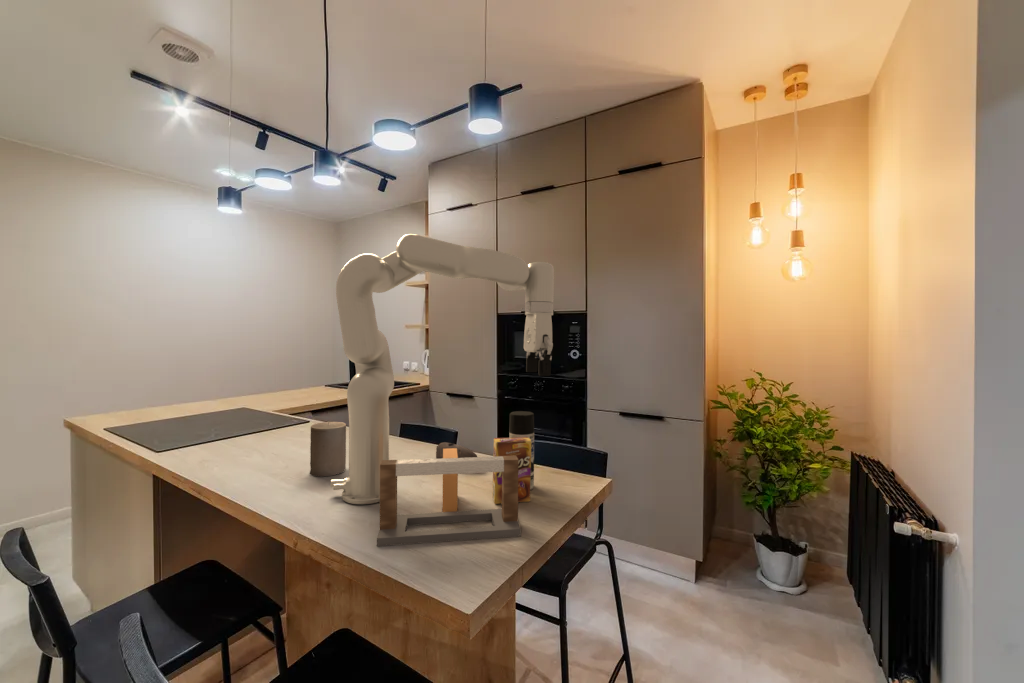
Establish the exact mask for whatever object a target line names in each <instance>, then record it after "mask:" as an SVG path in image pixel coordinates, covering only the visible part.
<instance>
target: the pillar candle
mask: <svg viewBox="0 0 1024 683" xmlns="http://www.w3.org/2000/svg"><path fill="white" fill-rule="evenodd" d="M309 447H310V448H309V449H310V451H309V453H310V455H309V456H310V458H309V459H310V460H309V461H310V463H309V466H310V470H309V474H310V475H311V476H313V477H320V478H321V477H331V476H336V474H337V475H339V473H340V474H342V473H344V472H346V470H347V469H346V466H347V465H346V464H347V460H346V459H347V423H345V422H342V421H329V419H328V420H327V421H326V422H317V423H314V424H312V425H311V426H310V446H309ZM343 471H344V472H343ZM341 472H342V473H341Z"/></svg>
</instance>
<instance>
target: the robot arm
mask: <svg viewBox="0 0 1024 683" xmlns="http://www.w3.org/2000/svg"><path fill="white" fill-rule="evenodd" d="M395 246H396V248H395V251H393V252H391V253H389V254H388V255H385V256H384V257H381V256H378V255H376V254H374V253H362V254H358V255H357V256H355V257H353V258H351V259H350V260H349V261H348V262H346V263H345V265H344V266H343V267H342V268H341V270H340V272H339V273H338V275H337V280H336V285H335V296H336V304H337V311H338V315H339V316H338V318H339V325H340V329H341V336H342V342H343V343H342V344H343V351H344V355H346V358H347V359H348V360H349V361H351V363H354V366H355V370H356V371H355V372H356V374H355V375H354V376H353V377H352V378H351V380H350V381H349V383H348V386H347V391H346V399H347V400H346V401H347V409H348V411H347V412H348V477H345V478H344V479H343V478H341V479H340V478H332V479H331V480H330V488H333V490H334V491H335V490H337V491H338V490H343V491H342V493H341V499H342V500H343V501H344V502H345V503H348V504H352V505H369V504H376V503H380V464H381V462H382V460H390V408H389V398H390V395H392V393H393V391H394V389H395V388H394V387H395V378H394V372H393V370H394V369H393V365H392V360H391V354H390V347H389V346H390V345H389V343H388V340H387V337H386V335H385V334H384V333H383V332H382V331H380V330H379V327H378V322H377V316H376V309H375V305H374V301H373V293H376V294H380V293H385V292H388V291H390V290H392V289H394V288H396V287H397V286H400V285H401V284H403V283H405V282H407V281H409V280H411V279H412V278H414V277H416V276H418V275H419V274H421V273H422V272H426V273H431V274H435V275H439V276H443V277H448V278H451V279H459V280H463V279H481V280H486V281H491V282H495V283H496V284H497V286H499V287H500V288H501V289H502V290H504V291H507V292H509V291H510V292H511V291H512V292H515V291H522V290H524V293H525V296H524V302H525V303H524V305H525V306H524V315H525V316H526V317H525V322H524V332H523V333H524V334H523V349H524V351H525V352H526V354H525V357H526V359H525V360H526V361H525V364H526V365H525V372H526V373H537V372H538V376H539V377H541V376H542V377H550V376H552V357H553V356H552V354H553V347H554V343H553V322H552V316H554V297H555V296H554V295H555V294H554V293H555V292H554V291H555V289H554V288H555V268H554V265H553V264H552V263H550V262H546V261H535V262H530V263H527V262H526V261H525V260H524V259H523V258H522V257H520V256H517V255H514V254H510V253H507V252H502V251H499V250H495V249H489V248H483V247H475V246H467V245H466V246H465V245H460V244H456V243H452V242H447V241H443V240H441V239H437V238H436V239H435V238H432V237H428V236H424V235H420V234H416V233H415V234H414V233H408V234H404V235H402V237H400V238H399V240H398V241H397V244H396V245H395ZM537 356H539V358H538V357H537Z"/></svg>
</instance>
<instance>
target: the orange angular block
mask: <svg viewBox="0 0 1024 683" xmlns="http://www.w3.org/2000/svg"><path fill="white" fill-rule="evenodd" d="M443 458H458V455H457V448H449V449H443ZM458 481H459V475H458V474H442V505H441V506H442V507H441V508H442V511H441V512H453V511H458V497H459V496H458V495H459V494H458V493H459V491H458V489H459V488H458V487H459V484H458Z"/></svg>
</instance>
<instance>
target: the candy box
mask: <svg viewBox="0 0 1024 683" xmlns="http://www.w3.org/2000/svg"><path fill="white" fill-rule="evenodd" d="M492 454H493V455H492V457H497V456H515V455H516V456H517V458H518V503H525V502H526V503H527V502H528V503H529V502H531V490H530V479H531V440H530V439H529V438H528V437H514V438H509V437H494V438H493V453H492ZM491 493H492V500H493V502H494V505H499V504H502V472H492V492H491Z"/></svg>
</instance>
